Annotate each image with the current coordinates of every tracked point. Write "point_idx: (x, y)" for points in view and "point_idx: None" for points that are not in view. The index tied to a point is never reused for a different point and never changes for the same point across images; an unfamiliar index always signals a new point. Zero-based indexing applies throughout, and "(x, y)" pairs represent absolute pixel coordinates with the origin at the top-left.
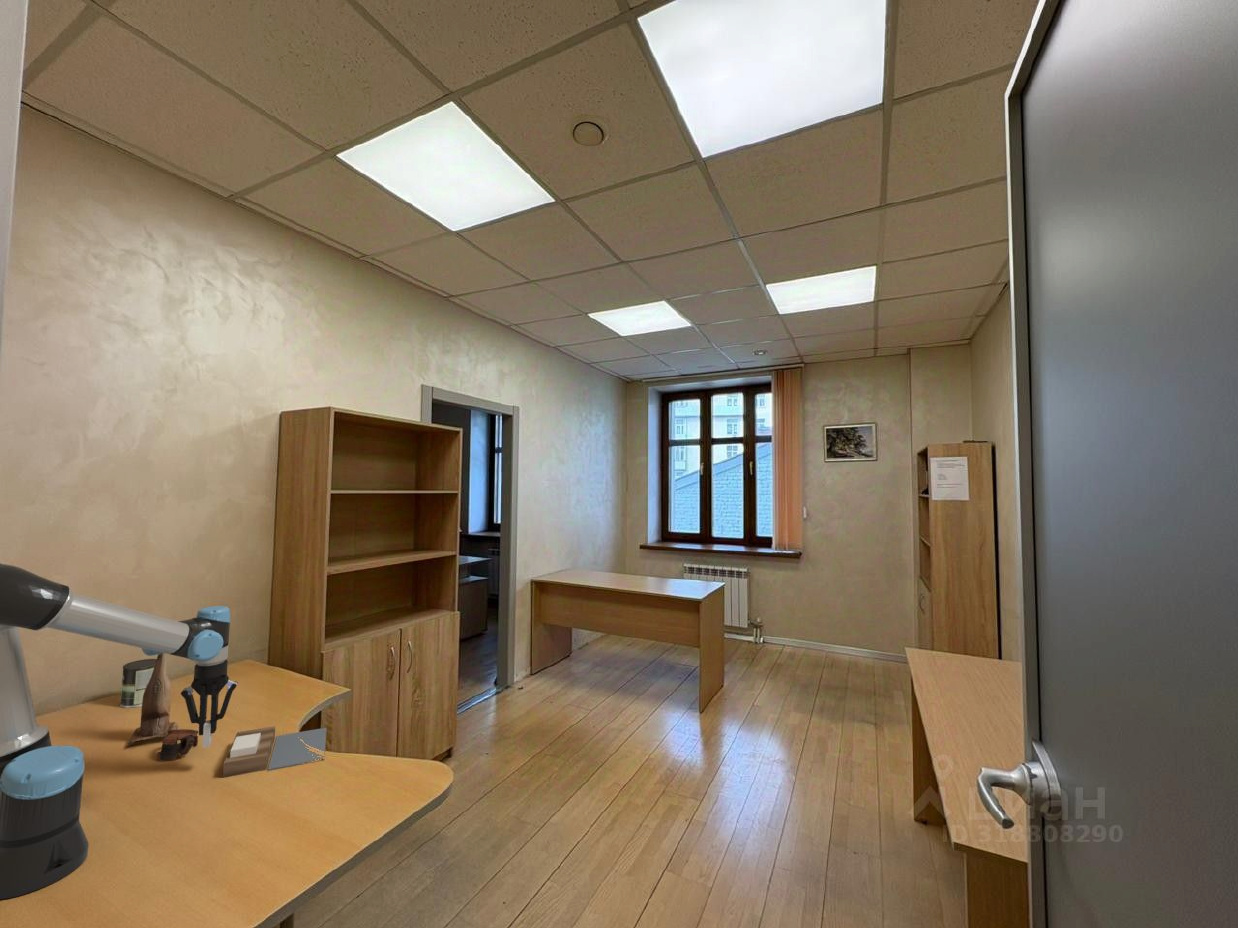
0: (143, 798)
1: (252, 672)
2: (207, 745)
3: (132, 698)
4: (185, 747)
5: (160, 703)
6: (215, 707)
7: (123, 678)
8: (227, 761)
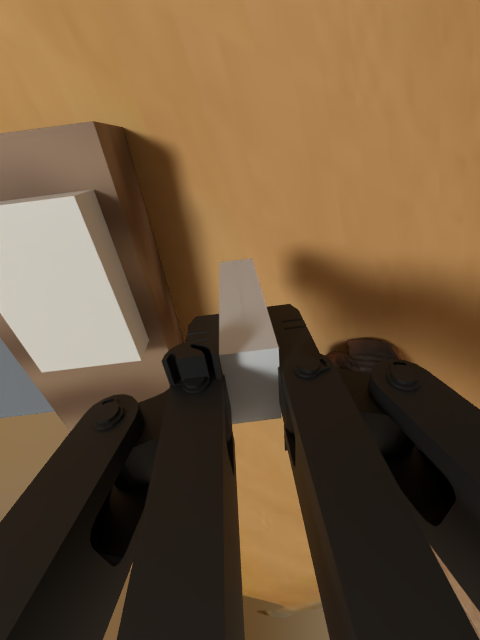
0: (430, 6)
1: (276, 591)
2: (228, 265)
3: None
4: (335, 360)
5: None
6: (135, 609)
7: None
8: (82, 138)
